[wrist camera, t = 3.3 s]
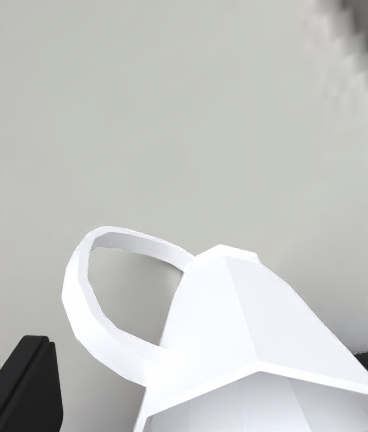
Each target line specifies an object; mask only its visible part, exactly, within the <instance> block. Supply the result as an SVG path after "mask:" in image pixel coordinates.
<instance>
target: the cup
mask: <svg viewBox="0 0 368 432" xmlns="http://www.w3.org/2000/svg"><path fill="white" fill-rule="evenodd" d="M97 247H103V248H117V249H122V250H127V251H132V252H136V253H140V254H145V255H149V256H153V257H155V258H158V259H161V260H163V261H166V262H168V263H171V264H173V265H174V266H176V267H177V268H179V269H180V270H182V271H183V274H182V277H181V280H180V283H179V286H178V288H177V290H176V292H175V294H174V296H173V299H172V303H171V306H170V309H169V312H168V315H167V318H166V321H165V325H164V328H163V331H162V334H161V337H160V340H159V344H158V346H157V345H154V344H151V343H149V342H146V341H144V340H142V339H140V338H137V337H135V336H133V335H131V334H128V333H126V332H124V331H122V330H120V329H117V328H116V326H115V325H114V324H113V323H112V322H111V321H110V320H109V319H108V318H107V317H106V316H105V315H104V314H103V313H102V310H101V308H100V306H99V304H98V301H97V299H96V297H95V295H94V292H93V290H92V288H91V286H90V283H89V281H88V279H87V275H88V260H89V253H90V251H91V250H93V249H95V248H97ZM62 302H63V305H64V307H65V310H66V313H67V315H68V318H69V321H70V324H71V326H72V329H73V332H74V335H75V337H76V338H77V339H78V340H79V341H80V342H81V343H82V344H83V345H84V346H85V348H86V349H87V350H88V351H89V352H90V353H91V354H92V355H93V356H94V357H95V358H96V359H97V360H99V361H100V362H102V363H103V364H105V365H106V366H108V367H109V368H110V369H112V370H113V371H115V372H116V373H118V374H119V375H121V376H122V377H124V378H125V379H127V380H129V381H132V382H135V383H137V384H140V385H142V386H145V387H146V389H145V393H144V396H143V400H142V403H141V406H140V409H139V412H138V416H137V419H136V422H135V425H134V428H133V432H368V371H367V370H366V369H365V368H364V367H363V366H362V365H361V364H360V362H359V361H358V360H357V359H356V358H355V357H354V356H353V355H352V354H351V352H350V351H349V350H348V349H347V348H346V347H345V346H344V345H343V344H342V343H341V342H340V341H339V340H338V339H337V338H336V336H335V335H334V334H333V333H332V332H331V331H330V330H329V329H328V328H327V327H326V326H325V325H324V324H323V323H322V322H321V321H320V319H319V318H318V317H317V316H316V315H315V314H314V313H313V311H312V310H311V309H310V308H309V307H308V306H307V305H306V304H305V302H304V301H303V300H302V299H301V298H300V297H299V296H298V295H297V293H296V292H295V291H294V290H293V289H292V288H291V287H290V285H289V284H287V283H286V282H285V281H284V280H282V279H281V278H280V277H278V276H277V275H276V274H275V273H273V272H272V271H271V270H269V269H268V268H267V267H266V266H264V265H262V264H261V262H260V260H259V258H258V256H257V254H256V253H253V252H249V251H245V250H241V249H237V248H233V247H229V246H225V245H221V244H219V245H217V246H215V247H213V248H211V249H209V250H207V251H205V252H203V253H201V254H199V255H197V256H195V257H194V256H193V255H191V254H190V253H188V252H187V251H185V250H184V249H182V248H180V247H178V246H176V245H174V244H171V243H169V242H167V241H165V240H162V239H159V238H156V237H153V236H150V235H147V234H143V233H140V232H137V231H133V230H129V229H126V228H120V227H109V226H102V227H100V228H97V229H95V230H93V231H91V232H89V233H87V234H86V236H85V237H84V238H83V240H82V241H81V242H80V244H79V245H78V246H77V248H76V249H75V251H74V253H73V255H72V257H71V259H70V261H69V263H68V265H67V267H66V271H65V278H64V285H63V292H62Z"/></svg>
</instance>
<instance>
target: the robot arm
mask: <svg viewBox="0 0 368 432" xmlns="http://www.w3.org/2000/svg"><path fill="white" fill-rule="evenodd" d="M62 421H63V406H62V398H61V390H60V381H59V373H58V365H57V357H56V349H55V344H54V342H49V338H48V337H47V336H31V335H26V336H24V337H23V338H22V339H21V340H20V342H19V343H18V345H17V346H16V348H15V349H14V351H13V352H12V353H11V355H10V356H9V358H8V359H7V361H6V362H5V364H4V365H3V367H2V368H1V370H0V432H59V431H60V428H61V425H62Z"/></svg>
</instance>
